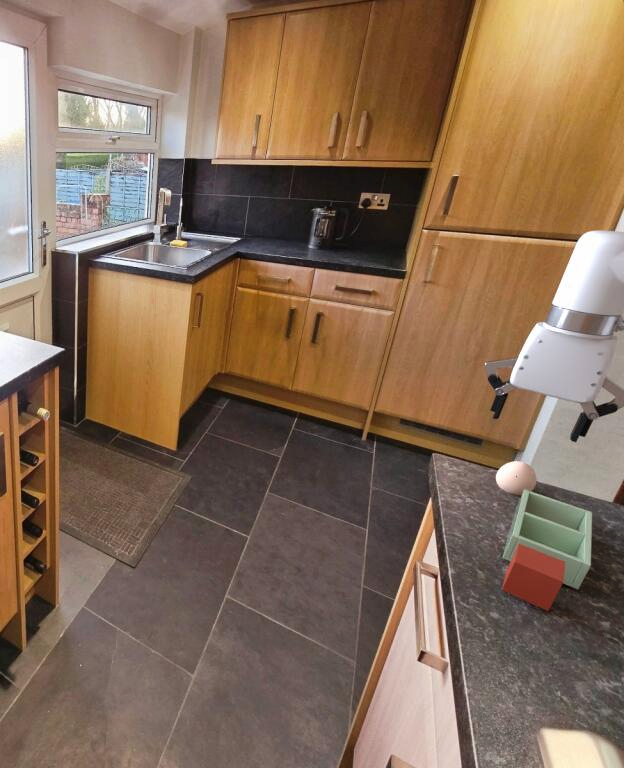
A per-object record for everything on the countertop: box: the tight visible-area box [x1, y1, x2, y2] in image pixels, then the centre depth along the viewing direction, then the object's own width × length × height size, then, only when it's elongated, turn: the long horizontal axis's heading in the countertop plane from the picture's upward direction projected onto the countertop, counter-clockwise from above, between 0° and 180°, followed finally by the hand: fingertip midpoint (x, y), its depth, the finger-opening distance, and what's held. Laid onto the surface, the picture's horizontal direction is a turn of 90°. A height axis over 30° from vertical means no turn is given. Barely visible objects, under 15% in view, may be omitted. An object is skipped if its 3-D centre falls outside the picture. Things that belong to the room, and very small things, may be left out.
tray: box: [502, 489, 593, 590], centre depth 69 cm, size 8×15×4 cm, turn 137°
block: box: [501, 544, 565, 612], centre depth 61 cm, size 5×5×5 cm
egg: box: [495, 460, 538, 496], centre depth 81 cm, size 5×5×6 cm
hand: (533, 427), depth 77 cm, fingers open, 9 cm apart
